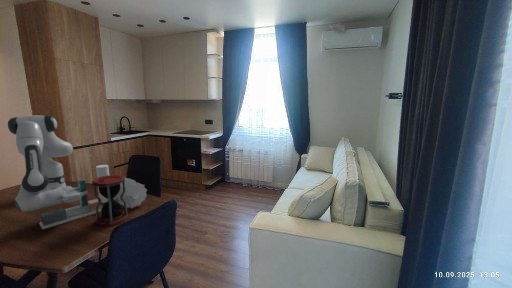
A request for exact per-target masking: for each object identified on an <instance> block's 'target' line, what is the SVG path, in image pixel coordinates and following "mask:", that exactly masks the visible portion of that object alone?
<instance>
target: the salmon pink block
mask: <svg viewBox="0 0 512 288" xmlns="http://www.w3.org/2000/svg"><path fill="white" fill-rule="evenodd" d="M87 201H88V203H89V204H90V209H91V210H89V211H91V212H93V211H96V205H97V204H98V199H97V198H94V199H92V200H91V199H90V200H87ZM102 204H103V203H101V204H100V205H99V206H98V210H100V209H102V207H103V205H102Z"/></svg>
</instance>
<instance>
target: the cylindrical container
mask: <svg viewBox="0 0 512 288" xmlns="http://www.w3.org/2000/svg"><path fill="white" fill-rule="evenodd" d="M95 171H96V178H99V177H102V176H108V175H110V170H109V165H108V164H99V165H96V167H95ZM97 191H98V192H97V193H98V197H99V198H100V199H101V203H102V204H103V203H104V204H105V202H107V201H108V199H107V198H105V197H103V196H102V195H101V194H100V193H99V188H98V187H97Z"/></svg>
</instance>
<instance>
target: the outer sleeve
mask: <svg viewBox="0 0 512 288" xmlns="http://www.w3.org/2000/svg"><path fill="white" fill-rule="evenodd" d="M65 209H66V208H64V207H61V208H57V209H54V210H50V211H45V212H42V213H40V219H41V222H42V223H43V225H44V226H45V225H49V224H52V223H55V222H59V221H62V220H66V219H67V216H66V210H65Z"/></svg>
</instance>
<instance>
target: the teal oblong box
mask: <svg viewBox="0 0 512 288" xmlns="http://www.w3.org/2000/svg"><path fill="white" fill-rule="evenodd" d="M77 187H78V190H79V191H78V193H80V192H84V191H87V185H86V179H84V178H81V179H77ZM88 201H89V200H88V194H86V195H83V196H81V199H80V200H79V204H80V205H76V206H72V207H68V208H64V209H65V210H66V216H67V217H69V216H72V215H76V214H79V213H82V212H86V211H89V210H91V209H90V204H89V203H88Z"/></svg>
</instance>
